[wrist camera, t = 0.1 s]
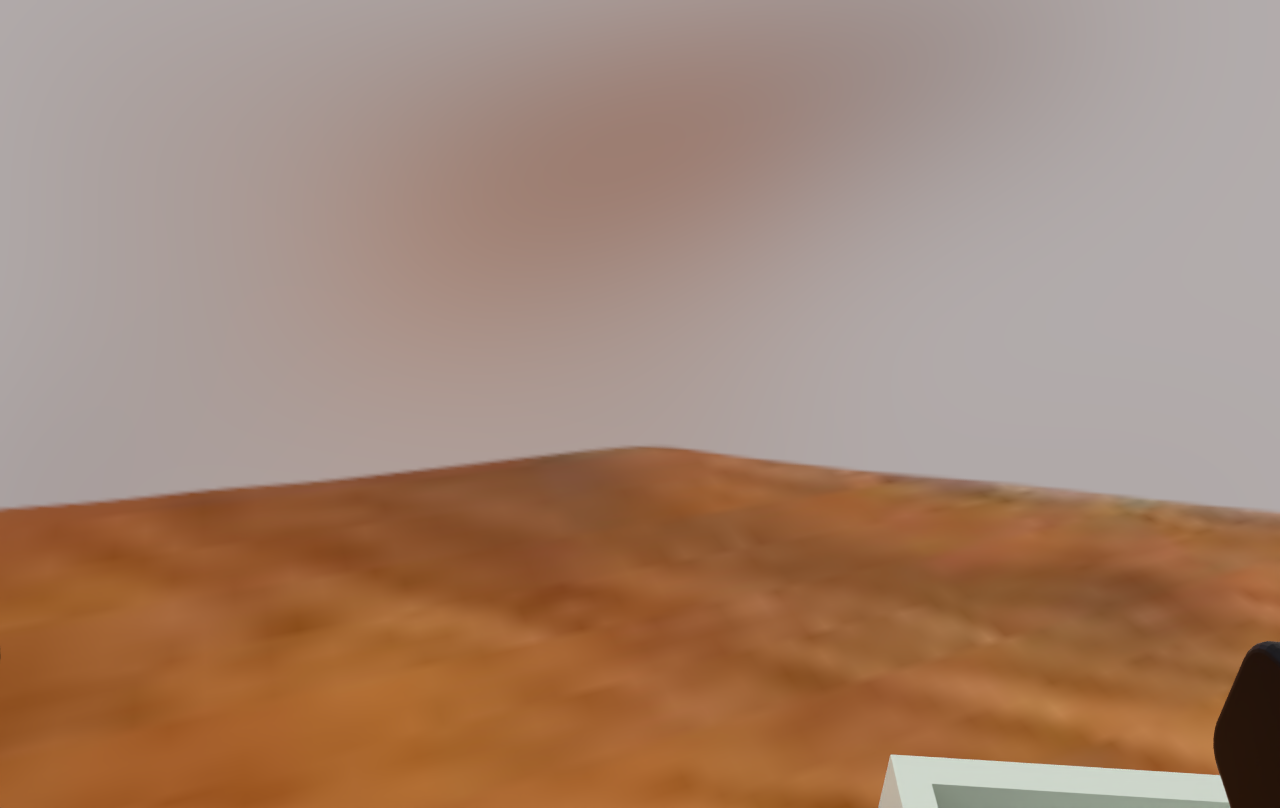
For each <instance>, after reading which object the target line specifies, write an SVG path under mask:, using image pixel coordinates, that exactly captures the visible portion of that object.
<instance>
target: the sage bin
mask: <svg viewBox="0 0 1280 808" xmlns="http://www.w3.org/2000/svg"><path fill="white" fill-rule="evenodd" d="M878 808H1230V804H1229V801H1228V798H1227V795H1226V792H1225V789H1224V786H1223V783H1222V780H1221V777H1220V775H1206V774H1190V773H1174V772H1158V771H1143V770H1127V769H1111V768H1095V767H1079V766H1063V765H1048V764H1032V763H1016V762H1000V761H984V760H968V759H953V758H937V757H921V756H905V755H890V759H889V763H888V768H887V772H886V776H885V781H884V785H883V789H882V794H881V798H880V802H879V807H878Z"/></svg>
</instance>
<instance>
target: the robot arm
mask: <svg viewBox="0 0 1280 808" xmlns="http://www.w3.org/2000/svg"><path fill="white" fill-rule="evenodd" d="M1214 754H1215V760H1216V764H1217V767H1218V770H1219V773H1220V777H1221V780H1222V783H1223V786H1224V789H1225V792H1226V795H1227V798H1228V801H1229V804H1230V808H1280V642H1271V641H1267V642H1262V643H1259V644H1256V645H1255V646H1253V647H1252V648H1251V649H1250V650H1249V651H1248V652H1247V654H1246V656H1245V658H1244V660H1243V662H1242V664H1241V667H1240V669H1239V671H1238V674H1237V676H1236V678H1235V681H1234V683H1233V686H1232V688H1231V690H1230V693H1229V695H1228V697H1227V700H1226V702H1225V704H1224V707H1223V709H1222V711H1221V714H1220V716H1219V718H1218V721H1217V723H1216V727H1215V732H1214Z"/></svg>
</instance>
